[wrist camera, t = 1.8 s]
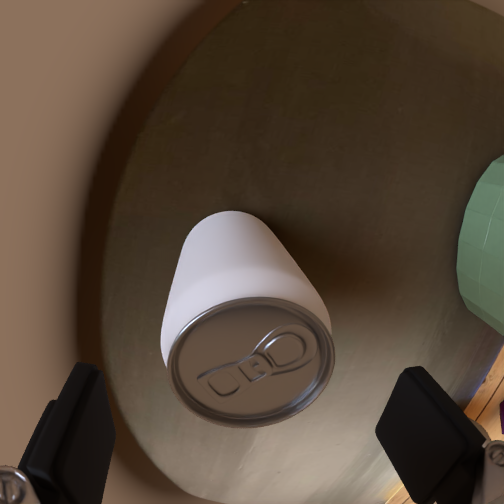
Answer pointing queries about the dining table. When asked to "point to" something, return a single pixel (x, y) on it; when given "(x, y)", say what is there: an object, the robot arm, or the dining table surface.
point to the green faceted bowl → (484, 248)
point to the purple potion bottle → (502, 416)
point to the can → (244, 326)
